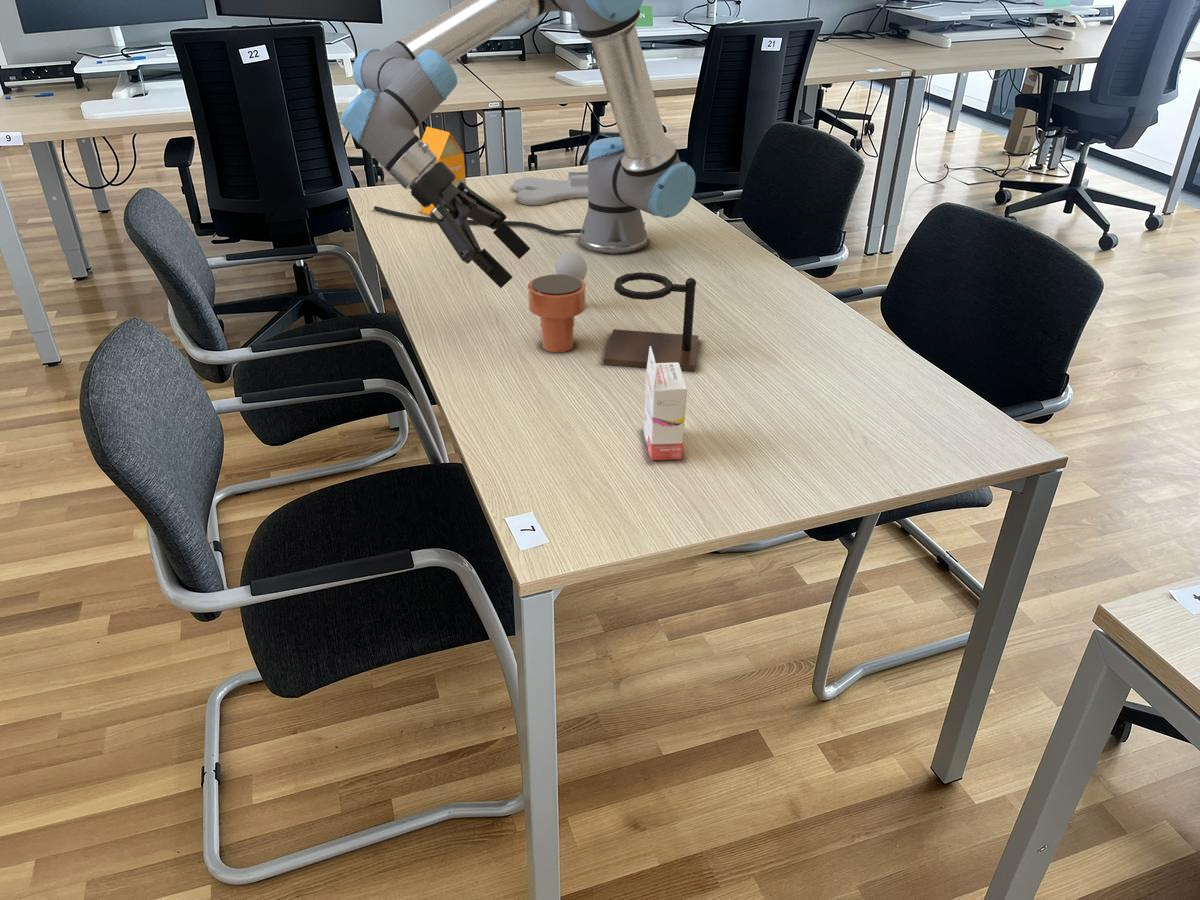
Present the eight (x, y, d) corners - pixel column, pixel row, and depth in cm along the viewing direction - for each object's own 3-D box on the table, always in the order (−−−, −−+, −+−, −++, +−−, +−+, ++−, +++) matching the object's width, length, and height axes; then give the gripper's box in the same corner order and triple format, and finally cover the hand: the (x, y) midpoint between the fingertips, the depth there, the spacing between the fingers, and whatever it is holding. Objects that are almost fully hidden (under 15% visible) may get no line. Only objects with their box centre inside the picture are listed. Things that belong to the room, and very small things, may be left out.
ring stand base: (603, 364, 159) (603, 358, 158) (613, 335, 169) (613, 329, 168) (694, 371, 157) (694, 365, 156) (698, 341, 167) (698, 335, 166)
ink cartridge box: (683, 460, 133) (690, 370, 126) (649, 461, 133) (654, 371, 125) (674, 429, 141) (680, 342, 133) (642, 430, 140) (646, 343, 132)
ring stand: (610, 355, 159) (611, 284, 152) (617, 332, 167) (619, 263, 160) (689, 361, 157) (694, 289, 150) (693, 337, 165) (698, 268, 158)
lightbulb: (592, 304, 180) (592, 250, 174) (578, 316, 176) (578, 261, 170) (564, 298, 183) (563, 245, 177) (550, 310, 178) (549, 255, 172)
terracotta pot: (518, 347, 164) (515, 285, 158) (554, 328, 171) (553, 268, 164) (560, 363, 159) (559, 300, 153) (596, 343, 166) (597, 282, 159)
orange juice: (443, 220, 222) (436, 135, 211) (420, 212, 227) (413, 128, 216) (468, 212, 227) (463, 129, 216) (445, 205, 232) (439, 123, 221)
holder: (650, 201, 236) (651, 181, 234) (518, 207, 231) (517, 187, 228) (635, 179, 252) (635, 161, 249) (511, 185, 247) (510, 166, 244)
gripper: (413, 181, 140) (513, 281, 146) (459, 141, 160) (545, 229, 167) (384, 213, 143) (483, 310, 149) (432, 169, 164) (518, 255, 170)
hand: (516, 267), depth 158 cm, fingers open, 13 cm apart
